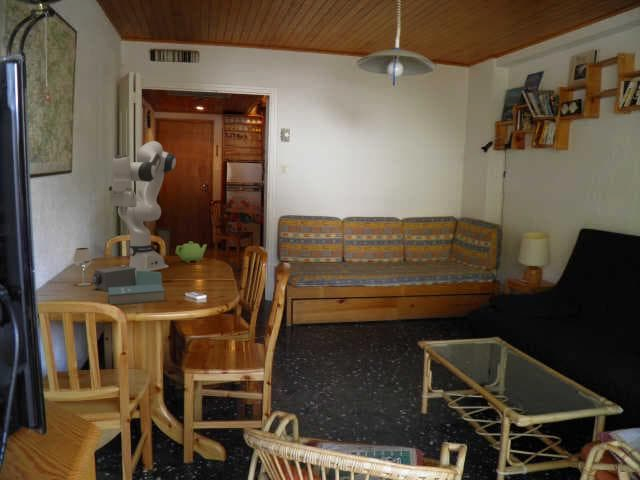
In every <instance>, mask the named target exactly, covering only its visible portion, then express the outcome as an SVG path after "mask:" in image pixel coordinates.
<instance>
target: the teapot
mask: <svg viewBox="0 0 640 480" xmlns="http://www.w3.org/2000/svg"><path fill="white" fill-rule="evenodd" d="M207 246H208V244H206V243H205V244H203V245H202V246H200V244H199V243H194V241H188V243H183V244H182V245H176V249H175V252H174V253H175V254H176V255H178V257H179V258H180V259H181V260H183V262H185V263H186V264H190V263H191V261H195V263H200V260H202V259H203V257H204V253H205V251H206V248H207Z"/></svg>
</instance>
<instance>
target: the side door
mask: <svg viewBox="0 0 640 480" xmlns="http://www.w3.org/2000/svg"><path fill="white" fill-rule="evenodd" d="M162 282H164V277H163V276H162V272H158V271H139V270H135V285H136V286H137V285H151V284H161V285H162ZM162 286H163V285H162Z"/></svg>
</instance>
